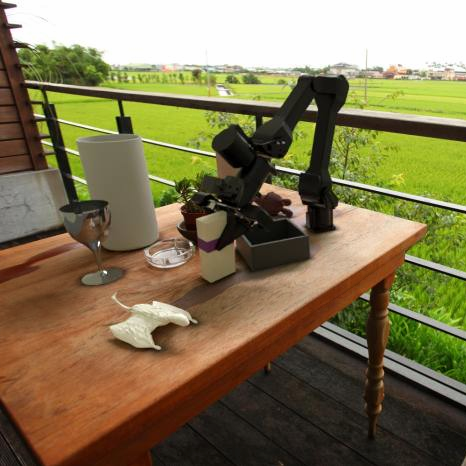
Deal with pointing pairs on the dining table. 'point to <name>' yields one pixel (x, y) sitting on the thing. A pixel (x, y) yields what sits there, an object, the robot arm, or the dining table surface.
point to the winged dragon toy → (147, 322)
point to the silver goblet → (90, 233)
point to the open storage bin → (274, 245)
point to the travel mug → (224, 168)
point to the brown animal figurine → (274, 204)
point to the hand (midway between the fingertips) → (210, 247)
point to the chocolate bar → (211, 259)
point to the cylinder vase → (121, 187)
